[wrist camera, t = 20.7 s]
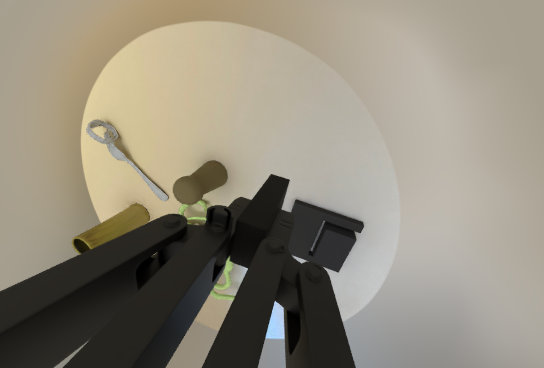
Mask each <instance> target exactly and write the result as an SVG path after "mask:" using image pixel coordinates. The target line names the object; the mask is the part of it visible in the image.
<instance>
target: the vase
mask: <svg viewBox="0 0 544 368" xmlns="http://www.w3.org/2000/svg"><path fill="white" fill-rule="evenodd" d="M148 221H149V214H148V212H147V210H146V209H145V208H144V207H143V206H141V205H139V204H133V205H131V206H130V207H129V208H127V209H125V210H124V211H122V212H120V213H118V214H117V215H115V216H113V217H111V218H110V219H108V220H106V221H104V222H103V223H101V224H99V225H97V226H95V227H93V228H91V229H89V230H88V231H86V232H84V233H82V234H80V235H78V236H76V237H74V238H73V239H72V245H73V248H74V249H75V250H76V252H77V253H79V254H82V253H84V252H86V251H89V250H91V249H93V248H95V247H97V246H99V245H101V244H104V243H106V242H108V241H110V240H112V239H114V238H117V237H119V236H121V235H123V234H125V233H127V232H129V231H132V230H134V229H136V228H138V227H140V226H142V225H144V224H146V223H147V222H148Z"/></svg>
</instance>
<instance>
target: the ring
mask: <svg viewBox="0 0 544 368" xmlns="http://www.w3.org/2000/svg"><path fill="white" fill-rule="evenodd" d="M98 126H103V127H105V128H107V129H109V130H110V131H111V132H112V133H113V135H114V138H111V139H109V140H106V139H103V138H101V137H99V136H98V135H96V134H95V133H94V132H93V131H92V130H91V128H92V129H93V128H95V127H98ZM86 130H87V133H88V134H89V135H90V136H91V137H92V138H93V139H95V140H97V141H98V142H100V143H103V144H110V143H113V142H115V141H116V139H117V138H118V134H117V131H116V129H115V128H114V127H113V126H111V125H110V124H108V123H106V122H104V121H101V120H94V121H91V122H90V123H89V124H88V127H87V129H86Z"/></svg>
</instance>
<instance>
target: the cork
mask: <svg viewBox="0 0 544 368" xmlns="http://www.w3.org/2000/svg"><path fill="white" fill-rule="evenodd" d="M226 181H227V171H226V169H225V167H224V166H223V165H222V164H221V163H219V162H217V161H213V160H212V161H208V162H207V163H205V164H204V165H203V166H201V167H200V168H199V169H198V170H196V171H195V172H194V173H193V174H192V175H190V176H184V177H181V178H180V179H178V180H177V181H176V182H175V184H174V186H173V193H174V196H175V198H176V199H177V200H178V201H179V202H180V203H182V204H185V205H193V204H196V203H197V202H199V201H200V200H201V199H202V197H203V195H204V194H206V193H208V192H210V191H212V190H214V189H216V188H218V187H220V186H222V185H224V184H225V183H226Z"/></svg>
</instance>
